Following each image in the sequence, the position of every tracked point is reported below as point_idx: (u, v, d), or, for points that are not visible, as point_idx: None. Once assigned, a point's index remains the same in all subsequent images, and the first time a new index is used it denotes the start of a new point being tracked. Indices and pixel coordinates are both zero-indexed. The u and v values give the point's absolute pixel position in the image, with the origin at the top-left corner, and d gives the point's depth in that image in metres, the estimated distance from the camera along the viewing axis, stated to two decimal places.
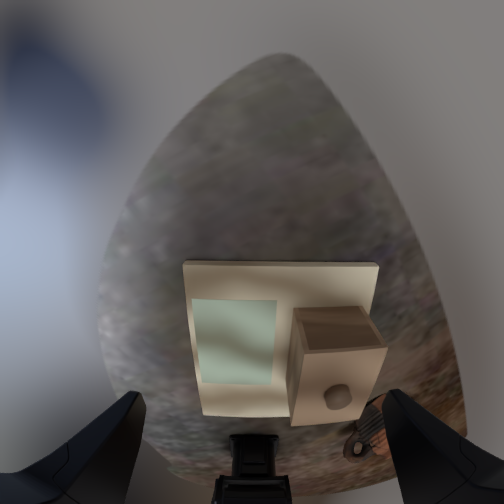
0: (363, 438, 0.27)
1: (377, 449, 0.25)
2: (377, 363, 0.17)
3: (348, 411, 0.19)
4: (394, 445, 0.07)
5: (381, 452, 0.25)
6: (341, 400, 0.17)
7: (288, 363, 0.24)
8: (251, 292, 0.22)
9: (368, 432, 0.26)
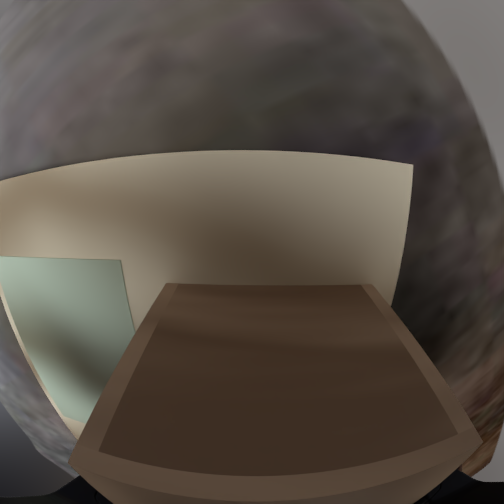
0: None
1: None
2: (422, 490, 0.03)
3: None
4: None
5: None
6: None
7: None
8: (65, 237, 0.07)
9: None
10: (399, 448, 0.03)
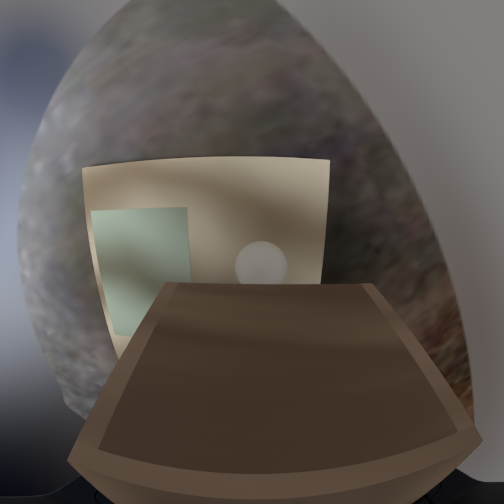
0: None
1: None
2: (421, 488, 0.03)
3: None
4: None
5: None
6: None
7: None
8: (154, 196, 0.16)
9: None
10: (399, 446, 0.03)
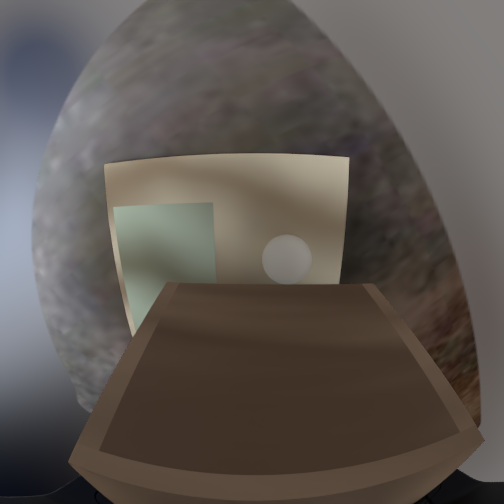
0: None
1: None
2: (423, 489, 0.03)
3: None
4: None
5: None
6: None
7: None
8: (180, 192, 0.17)
9: None
10: (401, 446, 0.03)
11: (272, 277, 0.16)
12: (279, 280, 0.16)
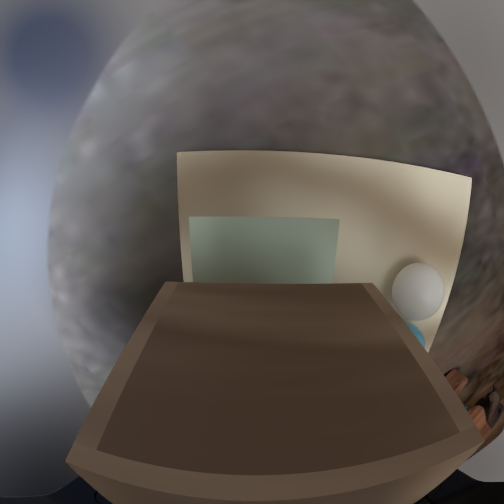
0: None
1: None
2: (422, 489, 0.03)
3: None
4: None
5: None
6: None
7: None
8: (297, 202, 0.12)
9: None
10: (400, 447, 0.03)
11: (408, 314, 0.12)
12: (416, 317, 0.11)
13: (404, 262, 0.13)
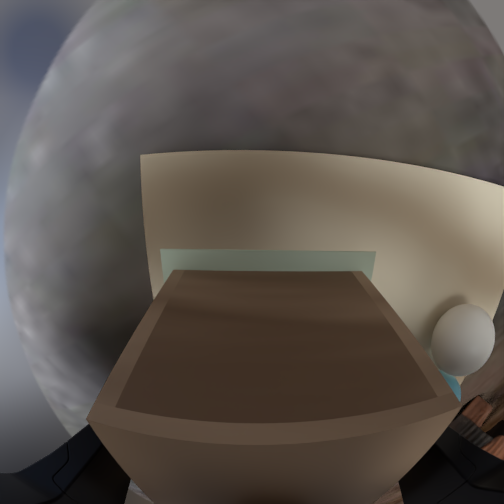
0: None
1: None
2: (409, 456, 0.04)
3: None
4: None
5: None
6: None
7: None
8: (318, 228, 0.08)
9: None
10: (381, 405, 0.04)
11: (451, 372, 0.08)
12: (459, 375, 0.07)
13: (447, 302, 0.09)
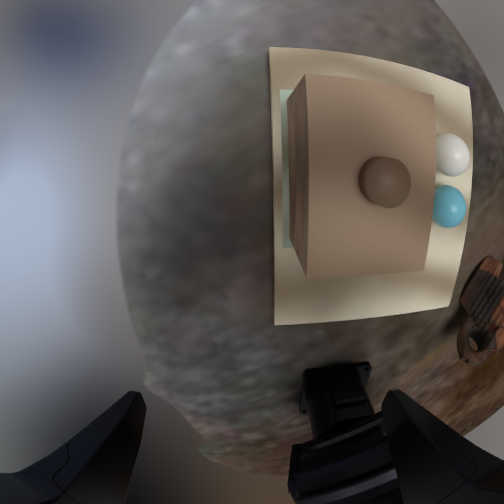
0: (480, 322, 0.18)
1: (502, 333, 0.16)
2: (427, 122, 0.09)
3: (406, 244, 0.11)
4: (394, 445, 0.07)
5: None
6: (393, 177, 0.09)
7: (290, 194, 0.16)
8: None
9: (486, 308, 0.17)
10: None
11: (448, 165, 0.13)
12: (454, 168, 0.13)
13: None
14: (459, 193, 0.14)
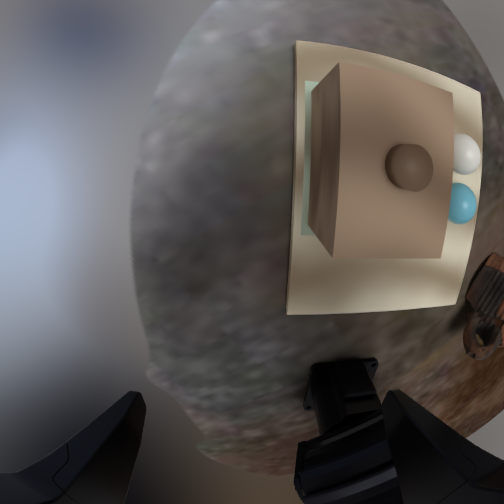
0: (487, 317, 0.18)
1: None
2: (446, 117, 0.09)
3: (426, 230, 0.11)
4: (394, 445, 0.07)
5: None
6: (418, 163, 0.09)
7: (311, 181, 0.16)
8: None
9: (493, 303, 0.17)
10: None
11: (461, 163, 0.13)
12: (466, 166, 0.13)
13: None
14: (470, 190, 0.14)
